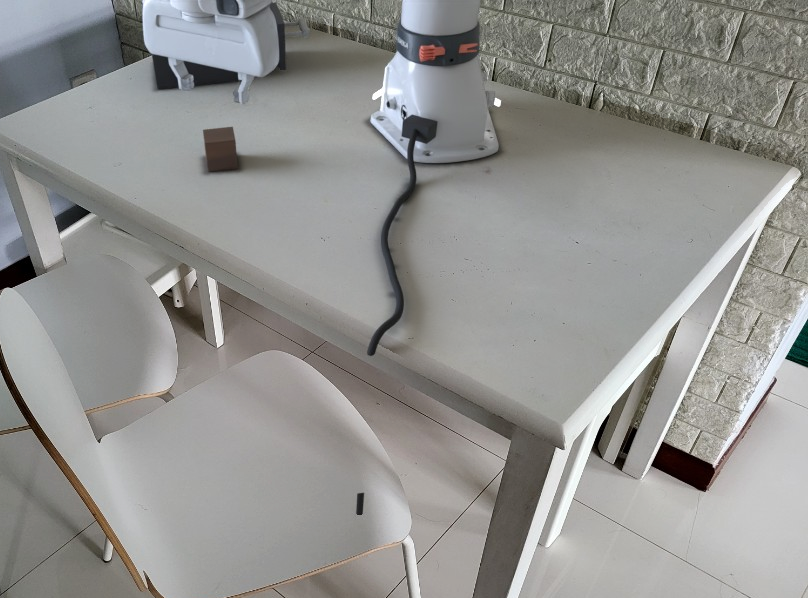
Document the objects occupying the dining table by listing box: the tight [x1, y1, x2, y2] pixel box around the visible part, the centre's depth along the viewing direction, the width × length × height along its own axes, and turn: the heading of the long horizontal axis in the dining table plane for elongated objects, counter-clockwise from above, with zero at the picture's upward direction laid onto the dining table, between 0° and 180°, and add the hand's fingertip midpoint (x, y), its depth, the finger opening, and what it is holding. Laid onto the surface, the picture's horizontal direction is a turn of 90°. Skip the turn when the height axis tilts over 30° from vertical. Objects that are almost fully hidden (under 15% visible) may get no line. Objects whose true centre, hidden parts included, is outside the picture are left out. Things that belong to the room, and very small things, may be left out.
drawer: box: [270, 1, 311, 71], centre depth 132 cm, size 18×11×8 cm, turn 97°
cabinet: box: [151, 54, 240, 90], centre depth 132 cm, size 15×13×10 cm
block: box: [202, 126, 239, 173], centre depth 109 cm, size 4×4×4 cm
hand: (213, 95), depth 103 cm, fingers open, 8 cm apart
